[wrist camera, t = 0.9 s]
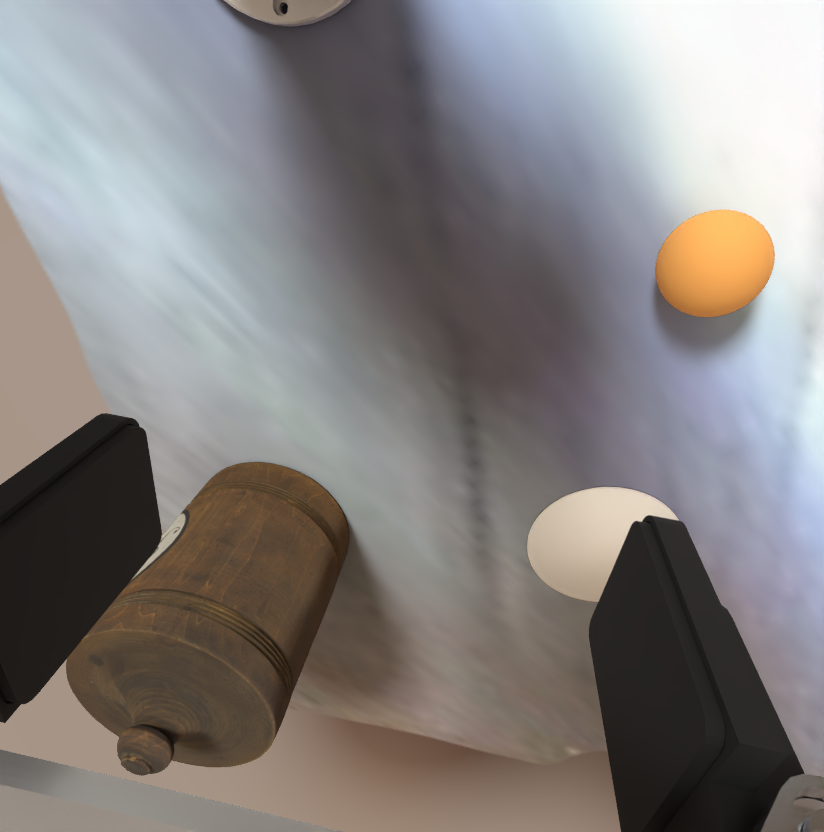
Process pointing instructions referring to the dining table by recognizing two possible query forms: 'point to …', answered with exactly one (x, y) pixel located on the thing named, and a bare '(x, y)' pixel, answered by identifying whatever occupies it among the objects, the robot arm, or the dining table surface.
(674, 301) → the ball
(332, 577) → the wooden container
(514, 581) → the dining table surface
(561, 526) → the cream disc
